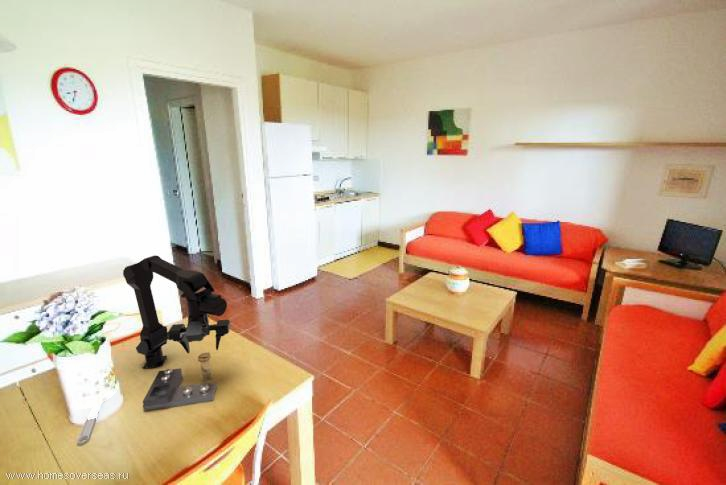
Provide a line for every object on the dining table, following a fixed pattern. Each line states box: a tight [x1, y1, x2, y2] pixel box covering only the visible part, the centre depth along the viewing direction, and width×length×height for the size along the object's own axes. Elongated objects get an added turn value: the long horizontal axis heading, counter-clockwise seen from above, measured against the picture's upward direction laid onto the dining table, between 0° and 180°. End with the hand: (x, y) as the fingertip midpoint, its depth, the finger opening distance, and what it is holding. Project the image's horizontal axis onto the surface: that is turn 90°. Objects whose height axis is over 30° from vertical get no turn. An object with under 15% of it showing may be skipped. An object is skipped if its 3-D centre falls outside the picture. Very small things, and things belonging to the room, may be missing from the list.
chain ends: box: [142, 368, 218, 412], centre depth 114 cm, size 15×20×5 cm
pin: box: [197, 352, 213, 382], centre depth 120 cm, size 4×4×9 cm
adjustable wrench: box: [76, 418, 97, 446], centre depth 105 cm, size 25×6×2 cm, turn 20°
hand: (203, 351), depth 119 cm, fingers open, 9 cm apart
